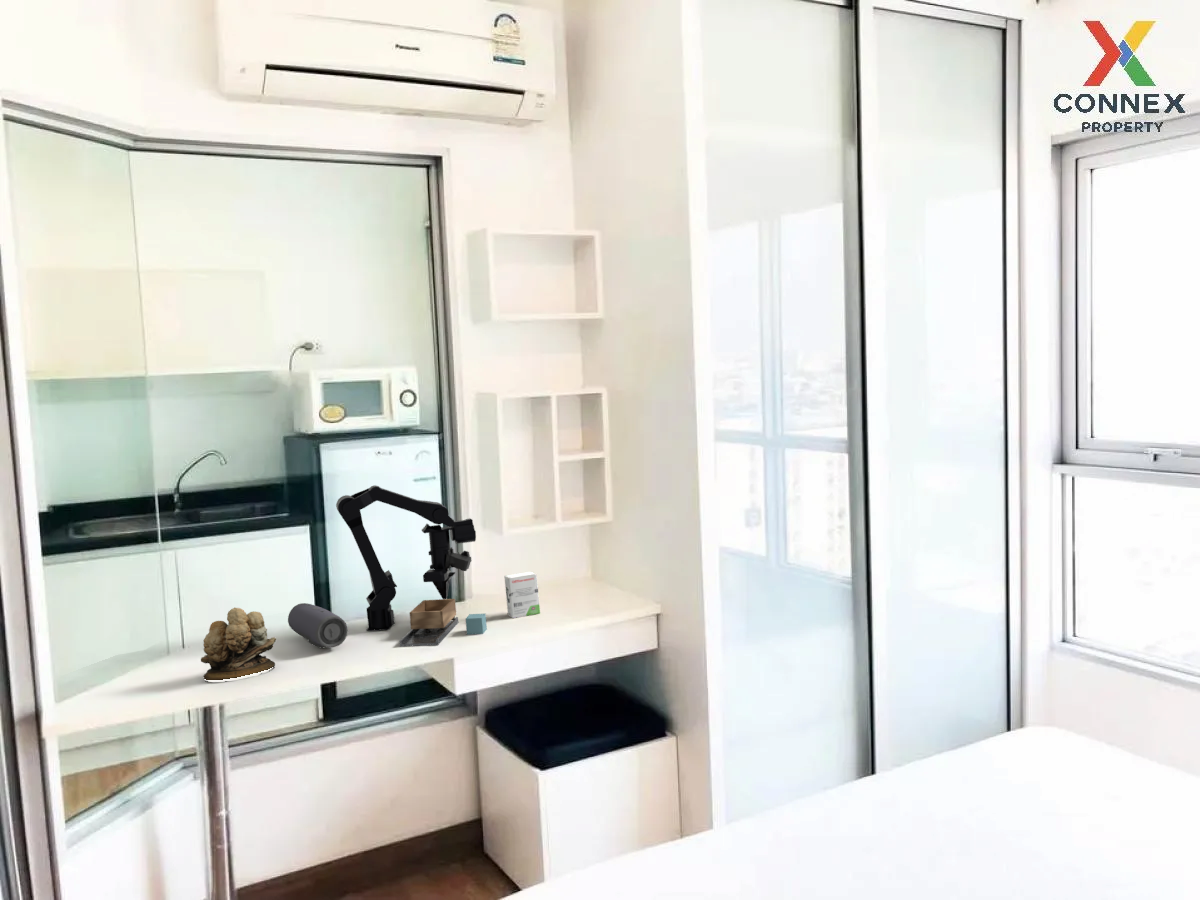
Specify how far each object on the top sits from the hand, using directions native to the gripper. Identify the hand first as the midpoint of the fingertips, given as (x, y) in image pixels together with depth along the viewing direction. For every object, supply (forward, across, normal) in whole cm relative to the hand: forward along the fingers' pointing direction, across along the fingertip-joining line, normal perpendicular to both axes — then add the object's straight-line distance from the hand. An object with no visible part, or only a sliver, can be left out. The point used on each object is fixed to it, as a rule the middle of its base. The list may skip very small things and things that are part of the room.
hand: (444, 598), depth 281 cm
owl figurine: (+6, -44, +41) cm, 60 cm away
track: (+6, -17, 0) cm, 18 cm away
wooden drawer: (+6, -12, 0) cm, 13 cm away
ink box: (+6, 0, -23) cm, 24 cm away
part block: (+6, -16, -13) cm, 22 cm away
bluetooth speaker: (+6, -21, +30) cm, 37 cm away
